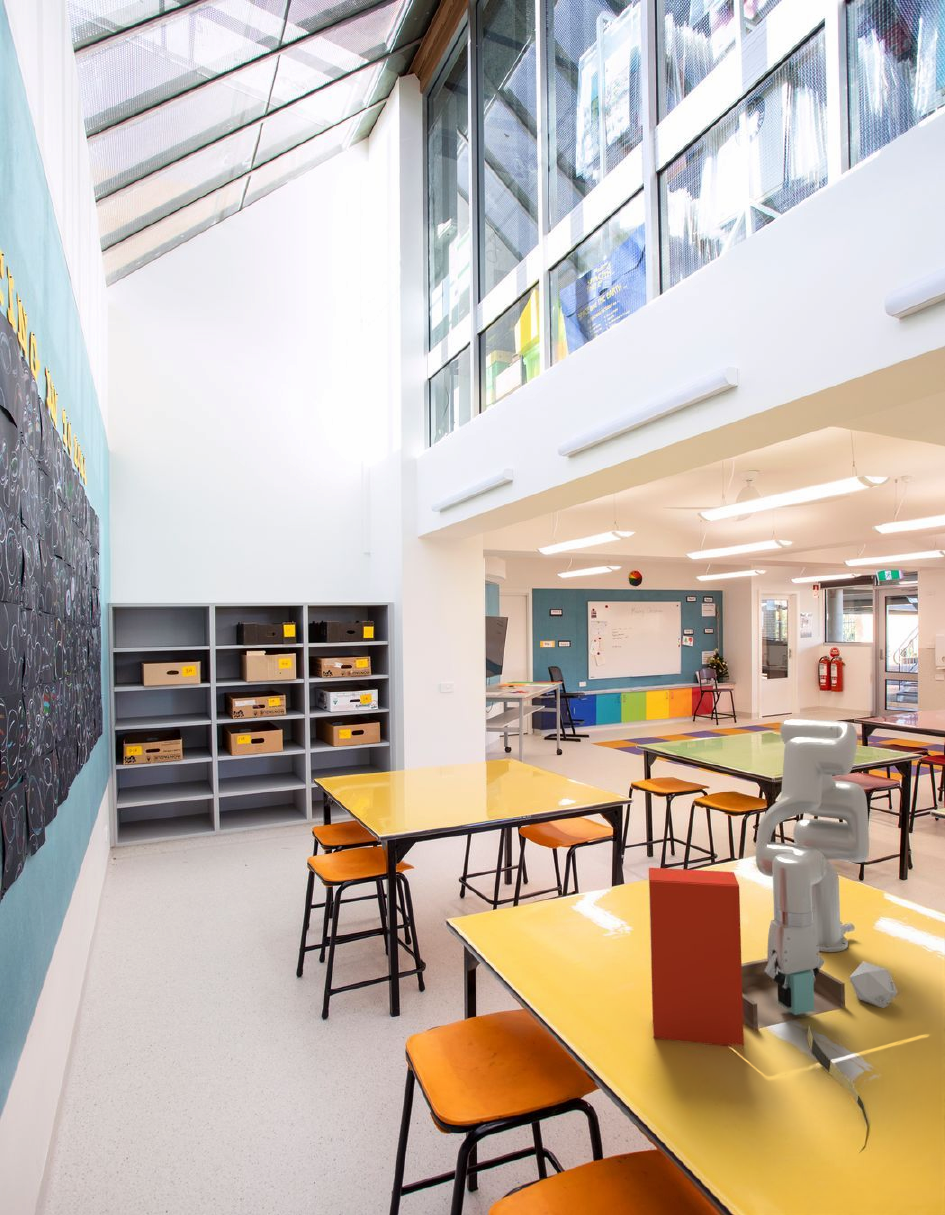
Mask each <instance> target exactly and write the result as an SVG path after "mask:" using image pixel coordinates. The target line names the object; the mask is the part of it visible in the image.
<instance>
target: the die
mask: <svg viewBox="0 0 945 1215" xmlns="http://www.w3.org/2000/svg"><path fill="white" fill-rule="evenodd" d="M848 979H849V981H850V983H851V985H852V988H853V990H854V993H855V995H856V997H857V999H859V1001H862V1002H864V1003H868V1004H870V1005H872V1006H876V1007H878V1008H883V1009H885V1008H887V1007H888V1006H889V1004H890V1003H892V1001H893V999H894V998H895V997H896V996H897V995H898V993H899V991H898V988H897V987H896V985H895V983H894V980H893V978H892V976H891V973H890V971H889V969H887V968H884V967H881V966H878V965H876V964H873V963H869V962H866V961H864V960H863V961H862V962H861V963H860V964H859V965H858V966H857V968H856V969H855V970H854V972H852V974H850V976H849V977H848Z"/></svg>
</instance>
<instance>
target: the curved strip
mask: <svg viewBox="0 0 945 1215" xmlns="http://www.w3.org/2000/svg"><path fill="white" fill-rule="evenodd" d="M807 1026H808V1027H807V1037H806V1039H807V1042H808V1045H809V1048H810V1051H811V1053H812V1055H813V1057H814V1058H815V1059H816V1061H817V1062H819V1064H820V1065H821V1066H822V1067H823V1068H824V1069H825V1070H826V1071H827V1072H828V1073H829V1074H830V1075H831V1076H832V1077H833V1078H834V1079H836V1080H837V1082H839V1083H840V1085H842V1086H843V1087H844V1088H845V1089H846V1090H847V1091H848V1092H849V1093H850V1095H851V1096H852V1098H853V1099H854V1100H855V1102H856V1103H857V1105H858V1106H859V1107H860V1109H861V1111H862V1115H863V1118H864V1122H865V1125H866V1126H867V1127H868V1124H869V1121H868V1118H867V1114H866V1109H865V1105H864V1101H863V1100H862V1098H861V1097H860V1095H859V1092H858V1091H857V1090H856V1088H855V1086H854V1084H853V1083H852V1081H851V1080H849V1078H848V1077H847V1076H846V1075H845V1074H844V1073H843V1072H842V1071H841V1070H840V1069H839V1068H838V1066H836V1064H835V1063H834V1062H833V1061H832V1060H831V1059H830V1058H829V1057H828V1056H827V1055H826V1054H825V1053H824V1052H823V1051H822V1049H821V1047H820V1045H819V1044H818V1043H817V1041H816V1040H815V1038H814V1037H813V1034H812V1031H811V1027H810V1025H809V1024H808V1025H807ZM866 1135H867V1133H866ZM864 1142H865V1143H866V1139H865V1140H864ZM865 1147H866V1145H864V1146H863V1147H862V1149H864V1148H865ZM861 1151H862V1150H860V1152H861ZM860 1152H859V1153H860Z"/></svg>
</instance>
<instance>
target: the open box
mask: <svg viewBox="0 0 945 1215" xmlns="http://www.w3.org/2000/svg"><path fill="white" fill-rule="evenodd" d="M741 964H742V999H743V1023H745V1024H746V1025H747V1026H748V1027H750V1028H751V1029H752V1030H758V1029H762V1028H765V1027H770V1026H773V1025H777V1024H781V1023H782V1024H783V1023H786V1022H790V1021H794V1020H798V1019H802V1018H806V1017H810V1016H815V1015H819V1014H823V1013H827V1012H830V1011H836V1010H840V1009H843V1008H846V992H845V991H846V988H845V987H846V986H845V982H843V981H841V980H839V979H838V978H836V977H834V976H833V975H831V974H829V973H828V972H826V971H824V970H823V969H821V968H820V969H819V972H818V973H817V975H816V977H815V982H814V983H813V984H814V1011H811V1012H806V1013H802V1014H798V1015H794V1014H793V1013H791V1012H790V1011H788V1010H787V1009H786V1008H784V1007H783V1006H781V1005H780V1004H778V995H777V983H776V982H775V981H774V980H773V979H772V978H771V977H770V976H768V975H767V974H766V973H765V972H764V970H765V968H766V967H767V965H768V959H767V958H762V959H757V960H753V961H748V962H747V961H746V962H742V963H741ZM776 970H777V968H776ZM776 970H775V973H776Z"/></svg>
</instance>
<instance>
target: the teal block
mask: <svg viewBox="0 0 945 1215" xmlns="http://www.w3.org/2000/svg"><path fill="white" fill-rule="evenodd" d="M783 978H784V974H782V979H783ZM788 987H789V988H790V989H791V1007H790V1008H788V1007H786V1006H785V1005H783V1004H782V1003H781V1002H779V1000H778V1004H780V1005H781V1006H783V1007H784V1008H786V1009H787V1010H788V1011H790V1012H791V1013H793V1014H794V1015H798V1014H802V1013H806V1012H811V1011H814V984H813V972H812V971H810V970H807V971H802V972H798V973H793V974H790V981H789V986H788ZM777 995H778V984H777Z"/></svg>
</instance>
